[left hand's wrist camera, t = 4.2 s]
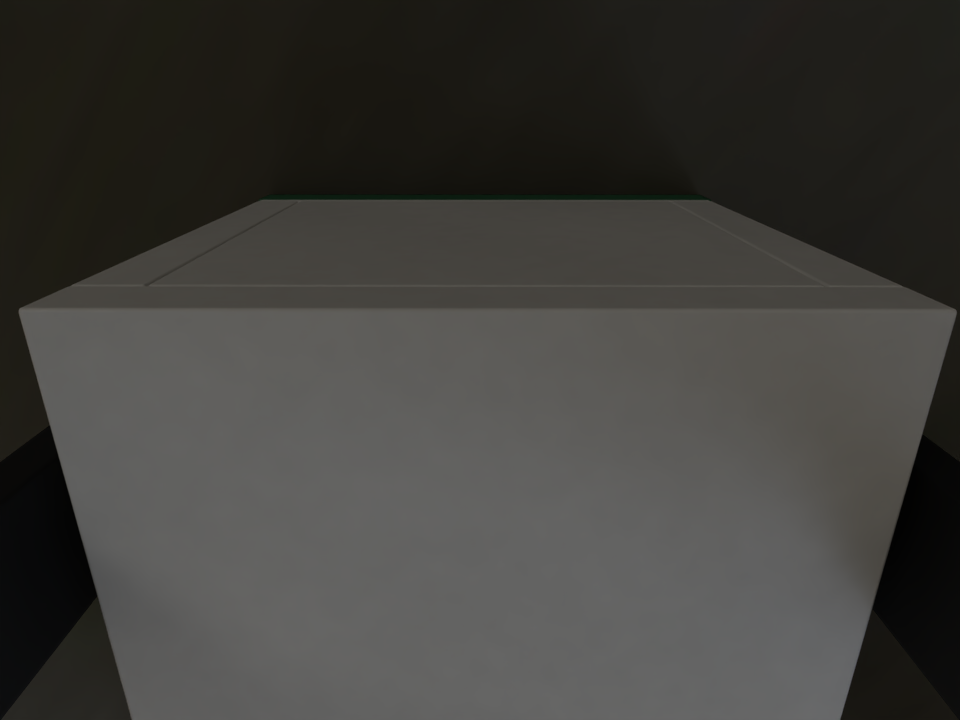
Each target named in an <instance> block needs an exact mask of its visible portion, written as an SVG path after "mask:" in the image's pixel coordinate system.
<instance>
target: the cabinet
mask: <svg viewBox="0 0 960 720" xmlns="http://www.w3.org/2000/svg"><path fill="white" fill-rule="evenodd" d="M19 315H20V319H21V323H22V326H23V330H24V333H25V337H26V341H27V344H28V348H29V351H30V355H31V359H32V362H33V366H34V369H35V373H36V377H37V380H38V384H39V387H40V391H41V395H42V398H43V402H44V405H45V409H46V413H47V416H48V420H49V423H50V427H51V431H52V434H53V438H54V441H55V445H56V449H57V452H58V456H59V459H60V463H61V467H62V470H63V474H64V477H65V481H66V485H67V488H68V492H69V495H70V499H71V503H72V506H73V510H74V513H75V517H76V521H77V524H78V528H79V531H80V535H81V539H82V542H83V546H84V549H85V553H86V557H87V560H88V564H89V567H90V571H91V575H92V578H93V582H94V585H95V589H96V593H97V596H98V600H99V603H100V607H101V611H102V614H103V618H104V621H105V625H106V629H107V632H108V636H109V639H110V643H111V647H112V650H113V654H114V657H115V661H116V665H117V668H118V672H119V675H120V679H121V683H122V686H123V690H124V693H125V697H126V701H127V704H128V708H129V711H130V715H131V719H132V720H840V719H841V715H842V712H843V708H844V705H845V701H846V698H847V694H848V691H849V687H850V684H851V680H852V677H853V673H854V670H855V666H856V663H857V660H858V656H859V653H860V649H861V646H862V642H863V639H864V635H865V632H866V628H867V625H868V621H869V618H870V614H871V611H872V607H873V604H874V600H875V597H876V593H877V590H878V586H879V583H880V579H881V576H882V572H883V569H884V565H885V562H886V559H887V555H888V552H889V548H890V545H891V541H892V538H893V534H894V531H895V527H896V524H897V520H898V517H899V513H900V510H901V506H902V503H903V499H904V496H905V492H906V489H907V485H908V482H909V478H910V475H911V471H912V468H913V465H914V461H915V458H916V454H917V451H918V447H919V444H920V440H921V437H922V433H923V430H924V426H925V423H926V419H927V416H928V412H929V409H930V405H931V402H932V398H933V395H934V391H935V388H936V384H937V381H938V377H939V374H940V370H941V367H942V364H943V360H944V357H945V353H946V350H947V346H948V343H949V339H950V336H951V332H952V329H953V325H954V322H955V318H956V315H957V311H956V309H953V308H951V307H949V306H947V305H944V304H942V303H940V302H938V301H935V300H933V299H931V298H929V297H926V296H924V295H922V294H920V293H917V292H915V291H913V290H910V289H908V288H906V287H903V286H901V285H899V284H896V283H894V282H892V281H890V280H887V279H885V278H883V277H881V276H878V275H876V274H874V273H872V272H869V271H867V270H865V269H863V268H860V267H858V266H856V265H854V264H851V263H849V262H847V261H845V260H842V259H840V258H838V257H836V256H833V255H831V254H829V253H827V252H824V251H822V250H820V249H818V248H815V247H813V246H811V245H809V244H806V243H804V242H802V241H800V240H797V239H795V238H793V237H790V236H788V235H786V234H784V233H781V232H779V231H777V230H775V229H772V228H770V227H768V226H766V225H763V224H761V223H759V222H757V221H754V220H752V219H750V218H748V217H745V216H743V215H741V214H739V213H736V212H734V211H732V210H730V209H727V208H725V207H723V206H721V205H718V204H716V203H714V202H712V201H711V200H710V199H708V198H706V197H703V196H701V195H268V196H266V197H263V198H261V199H259V201H258V202H255V203H253V204H251V205H249V206H247V207H244V208H242V209H240V210H238V211H235V212H233V213H231V214H229V215H227V216H224V217H222V218H220V219H218V220H215V221H213V222H211V223H209V224H207V225H204V226H202V227H200V228H198V229H195V230H193V231H191V232H189V233H187V234H184V235H182V236H180V237H178V238H175V239H173V240H171V241H169V242H167V243H164V244H162V245H160V246H158V247H155V248H153V249H151V250H149V251H147V252H144V253H142V254H140V255H138V256H135V257H133V258H131V259H129V260H127V261H124V262H122V263H120V264H118V265H115V266H113V267H111V268H109V269H107V270H104V271H102V272H100V273H98V274H95V275H93V276H91V277H89V278H87V279H84V280H82V281H80V282H78V283H76V284H73V285H71V286H69V287H66V288H64V289H62V290H60V291H57V292H55V293H53V294H51V295H49V296H46V297H44V298H42V299H40V300H37V301H35V302H33V303H31V304H29V305H26V306H24V307H22V308H20V309H19Z"/></svg>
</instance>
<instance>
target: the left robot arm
mask: <svg viewBox="0 0 960 720" xmlns="http://www.w3.org/2000/svg"><path fill="white" fill-rule="evenodd" d="M96 597H97V593H96V589H95V585H94V582H93V578H92V575H91V571H90V567H89V564H88V560H87V557H86V553H85V549H84V546H83V542H82V539H81V535H80V531H79V528H78V524H77V521H76V517H75V513H74V510H73V506H72V503H71V499H70V495H69V492H68V488H67V485H66V481H65V477H64V474H63V470H62V467H61V463H60V459H59V456H58V452H57V449H56V445H55V441H54V438H53V434H52V431H51V427H50V426H48V427H47V428H46V429H44V430H43V431H42V432H40V433H39V434H37V435H36V436H35V437H33V438H32V439H31V440H29V441H28V442H27V443H25V444H24V445H23V446H21V447H20V448H19V449H17V450H16V451H15V452H13V453H12V454H11V455H9V456H8V457H7V458H5V459H4V460H3V461H1V462H0V720H1V719H2V718H3V716H4V715H5V714H6V712H7V711H8V710H9V709H10V707H11V706H12V705H13V703H14V702H15V701H16V700H17V698H18V697H19V696H20V695H21V693H22V692H23V691H24V689H25V688H26V687H27V686H28V684H29V683H30V682H31V680H32V679H33V678H34V677H35V675H36V674H37V673H38V671H39V670H40V669H41V668H42V666H43V665H44V664H45V662H46V661H47V660H48V659H49V657H50V656H51V655H52V653H53V652H54V651H55V650H56V648H57V647H58V646H59V644H60V643H61V642H62V641H63V639H64V638H65V637H66V636H67V634H68V633H69V632H70V630H71V629H72V628H73V627H74V625H75V624H76V623H77V621H78V620H79V619H80V618H81V616H82V615H83V614H84V612H85V611H86V610H87V609H88V607H89V606H90V605H91V603H92V602H93V601H94V600H95V598H96ZM872 609H873V610H874V611H875V612H876V614H877V615H878V616H879V618H880V619H881V620H882V621H883V623H884V624H885V625H886V627H887V628H888V629H889V630H890V632H891V633H892V634H893V636H894V637H895V638H896V639H897V641H898V642H899V643H900V644H901V646H902V647H903V648H904V650H905V651H906V652H907V653H908V655H909V656H910V657H911V659H912V660H913V661H914V662H915V664H916V665H917V666H918V668H919V669H920V670H921V671H922V673H923V674H924V675H925V677H926V678H927V679H928V680H929V682H930V683H931V684H932V686H933V687H934V688H935V689H936V691H937V692H938V693H939V695H940V696H941V697H942V698H943V700H944V701H945V702H946V703H947V705H948V706H949V707H950V709H951V710H952V711H953V712H954V714H955V715H956V716H957V718H958V719H959V720H960V462H959V461H957V460H956V459H955V458H953V457H952V456H951V455H949V454H948V453H947V452H945V451H944V450H943V449H941V448H940V447H939V446H937V445H936V444H935V443H933V442H932V441H931V440H929V439H928V438H927V437H925V436H924V435H923V434H922V437H921V440H920V444H919V447H918V451H917V454H916V458H915V461H914V465H913V468H912V471H911V475H910V478H909V482H908V485H907V489H906V492H905V496H904V499H903V503H902V506H901V510H900V513H899V517H898V520H897V524H896V527H895V531H894V534H893V538H892V541H891V545H890V548H889V552H888V555H887V559H886V562H885V565H884V569H883V572H882V576H881V579H880V583H879V586H878V590H877V593H876V597H875V600H874V604H873V607H872Z"/></svg>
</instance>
